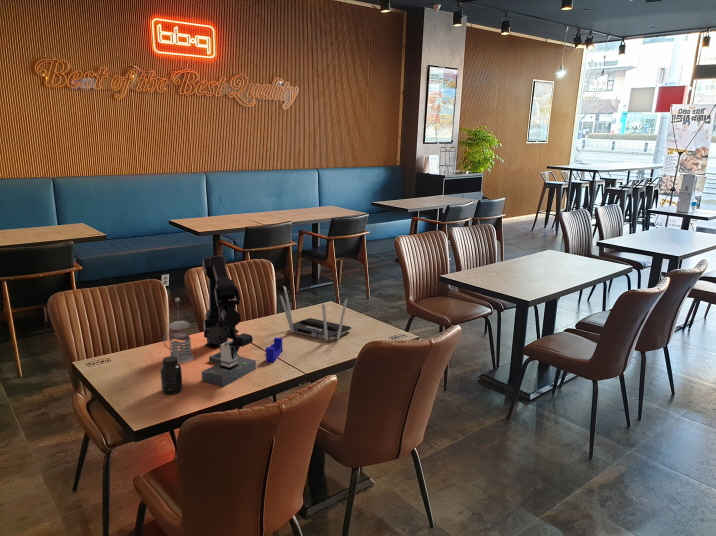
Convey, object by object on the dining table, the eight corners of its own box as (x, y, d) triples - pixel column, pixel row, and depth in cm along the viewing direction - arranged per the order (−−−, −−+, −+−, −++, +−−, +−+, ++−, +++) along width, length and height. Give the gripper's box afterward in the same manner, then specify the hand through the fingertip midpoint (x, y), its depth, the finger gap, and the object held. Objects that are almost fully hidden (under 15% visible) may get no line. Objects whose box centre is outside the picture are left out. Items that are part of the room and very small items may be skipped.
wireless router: (362, 333, 249) (363, 291, 244) (334, 350, 230) (334, 304, 225) (301, 320, 266) (301, 279, 261) (270, 334, 247) (269, 291, 242)
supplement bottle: (164, 386, 195) (162, 354, 192) (184, 386, 196) (182, 354, 193) (159, 395, 189) (157, 362, 186) (180, 395, 189) (178, 362, 186)
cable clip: (272, 350, 229) (271, 337, 228) (282, 351, 228) (282, 337, 227) (262, 362, 217) (262, 348, 216) (273, 363, 217) (273, 348, 215)
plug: (221, 365, 204) (220, 343, 202) (228, 361, 207) (227, 339, 205) (229, 367, 202) (228, 345, 200) (237, 363, 205) (236, 341, 203)
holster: (209, 361, 217) (208, 356, 216) (223, 354, 224) (223, 350, 223) (224, 366, 213) (224, 361, 213) (238, 358, 220) (238, 354, 219)
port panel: (202, 380, 200) (201, 370, 199) (235, 363, 215) (235, 354, 215) (222, 387, 195) (222, 377, 195) (255, 369, 211) (255, 359, 210)
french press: (199, 358, 220) (195, 297, 214) (172, 366, 212) (168, 304, 206) (185, 351, 226) (182, 292, 220) (159, 359, 218) (154, 298, 212)
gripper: (191, 319, 198) (194, 360, 202) (231, 329, 189) (233, 371, 193) (213, 311, 207) (215, 350, 211) (252, 319, 198) (254, 360, 202)
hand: (228, 358), depth 204 cm, fingers closed on plug, 4 cm apart
